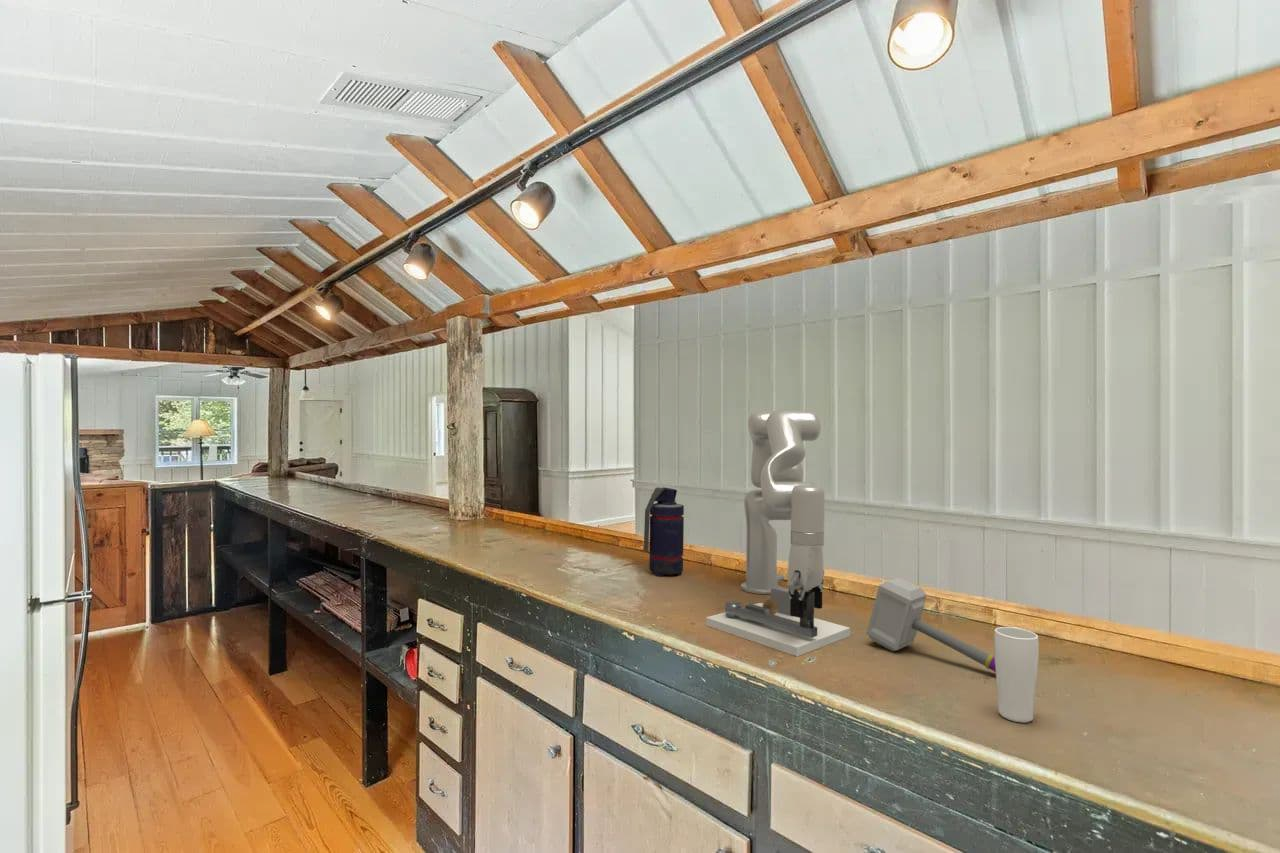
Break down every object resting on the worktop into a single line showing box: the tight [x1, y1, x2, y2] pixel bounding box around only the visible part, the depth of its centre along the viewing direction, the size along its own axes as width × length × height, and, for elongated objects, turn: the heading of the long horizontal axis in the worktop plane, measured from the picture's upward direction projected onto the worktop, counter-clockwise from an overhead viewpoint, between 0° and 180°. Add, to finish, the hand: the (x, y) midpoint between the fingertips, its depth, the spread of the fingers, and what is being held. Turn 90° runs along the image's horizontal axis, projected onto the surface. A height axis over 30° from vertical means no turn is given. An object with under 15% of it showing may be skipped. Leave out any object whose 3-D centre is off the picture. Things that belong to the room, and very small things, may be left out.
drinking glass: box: [993, 626, 1040, 723], centre depth 110 cm, size 7×7×15 cm
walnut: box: [762, 598, 778, 615], centre depth 160 cm, size 4×4×4 cm
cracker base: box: [705, 586, 851, 657], centre depth 155 cm, size 28×22×8 cm
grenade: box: [643, 486, 685, 578], centre depth 216 cm, size 14×12×30 cm
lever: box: [725, 589, 817, 638], centre depth 152 cm, size 26×5×10 cm, turn 42°
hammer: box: [866, 577, 996, 673], centre depth 136 cm, size 15×8×30 cm
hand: (806, 612), depth 143 cm, fingers open, 9 cm apart
